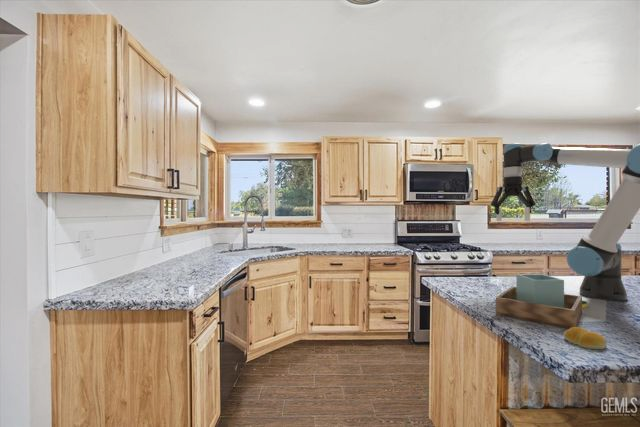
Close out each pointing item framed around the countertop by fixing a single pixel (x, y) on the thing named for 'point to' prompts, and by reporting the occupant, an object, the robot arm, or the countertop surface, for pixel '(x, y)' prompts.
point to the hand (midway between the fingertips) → (513, 221)
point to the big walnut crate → (540, 310)
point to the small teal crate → (540, 289)
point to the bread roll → (585, 338)
